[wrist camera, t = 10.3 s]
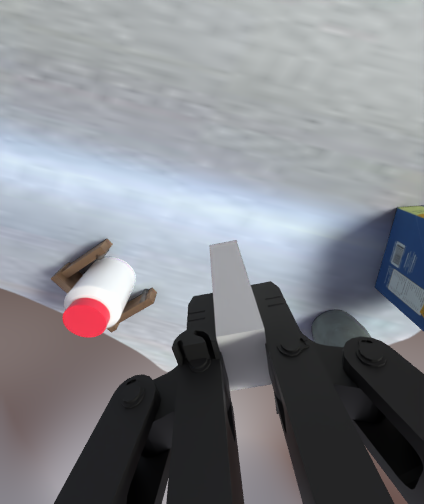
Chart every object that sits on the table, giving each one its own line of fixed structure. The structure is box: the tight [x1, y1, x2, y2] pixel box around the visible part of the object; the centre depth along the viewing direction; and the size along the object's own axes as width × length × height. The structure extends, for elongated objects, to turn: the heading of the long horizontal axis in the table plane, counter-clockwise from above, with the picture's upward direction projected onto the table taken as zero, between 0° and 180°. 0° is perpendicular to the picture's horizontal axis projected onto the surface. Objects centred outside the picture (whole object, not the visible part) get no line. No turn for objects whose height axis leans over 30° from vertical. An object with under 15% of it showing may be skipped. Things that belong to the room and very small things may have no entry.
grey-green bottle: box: [312, 310, 371, 347], centre depth 34 cm, size 9×9×30 cm
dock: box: [51, 239, 157, 332], centre depth 40 cm, size 13×9×4 cm
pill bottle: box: [63, 257, 136, 337], centre depth 36 cm, size 8×8×11 cm
